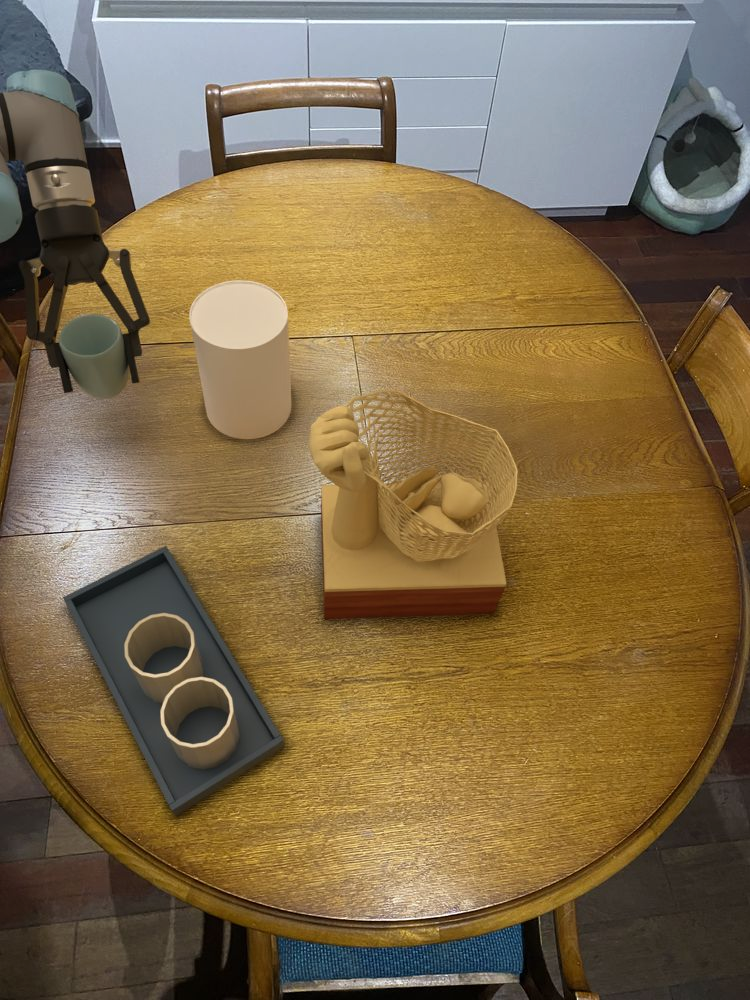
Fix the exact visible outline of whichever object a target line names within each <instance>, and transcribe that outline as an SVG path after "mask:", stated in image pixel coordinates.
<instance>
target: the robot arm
mask: <svg viewBox="0 0 750 1000" xmlns="http://www.w3.org/2000/svg"><path fill="white" fill-rule="evenodd" d="M75 101H76V100H75V97H74V93H73V90H72V86H71V84H70V82H69V80H68V79H67V78H66V77H65V76H63V75H62V74H60V73H58V72H55V71H51V70H45V69H29V70H27V71H26V70H20V71H17V72H16V71H15V72H14V73H12V74H10V75H9V76H8V77H7V78H6V91H0V244H1V243H3V242H6V241H8V240H9V239H11V238H12V237H14V236H15V234H16V233H17V232H18V230H19V228H20V227H21V224H22V221H23V210H22V206H21V201H20V195H19V189H18V186H17V184H16V182H15V181H14V180H13V177H12V175H11V172H10V169H9V167H8V163H7V162H15V161H22V163H23V166H24V171H25V175H26V181H27V186H28V190H29V194H30V200H31V204H32V207H33V208H35V209H36V210H38V211H36V213H35V214H34V218H35V222H36V227H37V232H38V236H39V241H40V247H41V249H40V253H39V256H38V257H35V258H32V259H28V260H26V259H21V260H19V262H18V268H19V270H20V272H21V275H22V277H23V280H24V281H23V282H24V299H25V300H24V302H25V321H26V322H25V323H26V325H25V326H26V336H27V338H28V339H29V340H31V341H37V342H41V344H43V345H44V347H45V352H46V356H47V361H48V365H49V366H50V368H51V369H56V368H58V371H59V376H60V381H61V384H62V390H63V393H64V394H69V393H72V392H74V389H73V384H72V379H71V374H70V371H69V369H68V367H67V365H66V362H65V359H64V357H63V354H62V352H61V349H60V346H59V341H58V342H57V335H58V332H59V326H60V321H61V317H62V313H63V308H64V303H65V298H66V295H67V292H68V287H69V286H70V287H71V286H77V285H79V284H82V283H83V284H96V286H97V287H98V289H99V290H100V291H101V293H102V294H103V296H104V297H105V298H106V300H107V301H108V303H109V305H110V306H111V307H112V310H114V312H115V314H116V315H117V316H118V318H119V319H120V321H121V322H122V324H123V325H124V326H125V328H126V329H127V333H123V339H124V344H125V349H126V354H127V359H128V364H129V369H130V380H131V383H132V384H137V383H140V378H139V372H138V367H137V363H136V358H137V357H142V356H143V355H142V354H143V349H142V343H141V338H140V330H142V329H143V328H145V327H147V326H149V325H150V324H151V318H150V315H149V313H148V311H147V308H146V305H145V302H144V299H143V297H142V295H141V292H140V288H139V286H138V284H137V281H136V279H135V276H134V273H133V270H132V254H131V253H130V251H129V250H128V249H127V248H122V249H109V248H108V247H107V245H106V243H105V242H104V239H103V234H102V233H103V232H102V229H101V225H100V219H99V215H98V210H97V209H96V208H95V207H94V206H92V205H94V204H95V202H96V199H95V194H94V188H93V183H92V178H91V173H90V170H89V166H88V161H87V155H86V150H85V144H84V139H83V134H82V129H81V123H80V114H79V112H78V110H77V109H78V108H77V105H76V102H75ZM109 259H110V260H112V261H113V263H114V266H116V267H117V268H120V271H121V275H122V277H123V278H122V279H123V280H124V283H125V285H126V288H127V291H128V293H129V296H130V299H131V301H132V304H133V306H134V310H135V312H136V314H137V317H138V318H137V319H135V320H134V319H133V318H132V316H131V314H130V313H129V311H128V310H127V309H126V307H125V305H124V304H123V303H122V301H121V300H120V298H119V297H118V295H117V293H116V292H115V291H114V289H113V288H112V286H111V285H110V283H109V282H108V280H107V278H106V277H105V276H104V274H103V271H104V269H105V267H106V265H107V263H108V261H109ZM42 267H44V268H46V269H47V271H49V272H50V273H51V274H52V275H53V276H54V281H53V284H52V293H51V296H50V302H49V306H48V311H47V316H46V320H45V324H44V329H43V331H41V317H40V296H39V295H40V292H39V280H38V277H40V275H41V274H42V273H41V269H42Z"/></svg>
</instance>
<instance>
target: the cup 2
mask: <svg viewBox="0 0 750 1000" xmlns="http://www.w3.org/2000/svg"><path fill="white" fill-rule="evenodd" d="M124 645H125V658H126V660H127V662H128V663H129V665H130V667H131V669H132V671H133V673H134V675H135V677H136V678H137V680H138V682H139V684H140V686H141V688H142V690H143V692H144V693H145V695H146V696H148V697H149V698H150V699H152V700H153V701H154V702H158V703H163V702H164V699H165V697H166V696H167V695H168V693H169V692H170V691H171V690H172V689H173V687H174V686H176V685H178V684H179V683H181V682H183V681H185V680H186V679H190V678H196V677H203V675H204V668H203V661H202V658H201V654H200V651H199V648H198V645H197V642H196V639H195V636H194V633H193V631H192V629H191V628H190V626H189V624H188V623H187V622H186V621H185V620H183V619H182V618H180V617H179V616H177V615H172V614H167V613H161V614H154V615H150V616H148V617H146V618H144V619H143V620H141V621H139V622H138V623H137V624H136V625H135V626H134V627H133V628H132V629H131V630H130V632H129V634H128V636H127V639H126V641H125V644H124ZM172 646H178V647H183V648H187V649H188V650H189V653H188V656H187V657H186V659H185V660H184V661H183V662H182V663H181V664H180V666H178V667H177V668H175V669H173V670H171V671H169V672H167V673H161V674H150V673H145V672H143V670H144V667H145V664H146V662H147V661H148V660H149V659H150V657H151V656H152V655H153V654H154V653H156V652H158V651H159V650H161V649H163V648H166V647H172Z"/></svg>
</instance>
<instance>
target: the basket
mask: <svg viewBox="0 0 750 1000" xmlns="http://www.w3.org/2000/svg"><path fill="white" fill-rule="evenodd" d="M380 394H382V395H385V396H386V397H378V396H379V395H380ZM390 398H395V399H394V400H393V399H390ZM400 398H402V399H400ZM399 399H400V400H399ZM355 401H356V402H357V401H360V402H361V401H362V402H363V403H362V404H360V405H359V406H356V407H354V405H355ZM372 401H376V402H379V403H378V404H377V405H372V404H371V405H370V403H371V402H372ZM385 403H391V404H390V405H389V406H382V405H384V404H385ZM395 404H400V406H399V408H398V407H393V406H394V405H395ZM404 405H405V406H406V407H407V408H408V409H409V410H410V411H409V412H407V411H406V410H403V407H404ZM414 408H415V409H417V410H415V409H414ZM364 409H368V410H371V411H369V412H368V413H366V414H364ZM377 410H381V411H382V410H383V412H382V413H375V412H376V411H377ZM358 411H359V418H357V419H355V415H354V413H356V412H358ZM389 411H391V412H392V411H393V412H395V413H393V414H387V413H388V412H389ZM399 413H402V414H403V415H401V416H400V415H398V414H399ZM414 415H415V416H417V417H419V418H420V419H419V418H417V417H415V416H414ZM407 416H408V417H409V418H411V419H408V418H406V417H407ZM371 418H375V419H374V420H373V421H372V422H371ZM382 418H388V419H387V420H381V419H382ZM393 419H397V420H393ZM365 420H367V426H366V427H365V426H364V421H365ZM401 421H404V422H401ZM452 421H453V422H452ZM416 422H417V423H416ZM359 423H360V424H361V428H362V431H361V432H360V427H359V425H358V424H359ZM418 423H419V424H418ZM420 424H421V425H420ZM376 425H379V426H378V427H377V428H376ZM386 425H387V426H386ZM395 425H396V426H395ZM401 426H403V427H401ZM461 427H462V428H461ZM371 428H373V433H371ZM418 428H419V429H418ZM469 428H471V429H472V430H471V429H469ZM387 430H390V431H389V432H387V433H386V434H384V433H385V432H386V431H387ZM395 430H396V432H395V433H393V432H394V431H395ZM481 430H483V431H485V432H483V431H481ZM380 431H382V432H380ZM400 432H403V433H402V434H399V433H400ZM367 433H368V435H367ZM408 433H411V434H408ZM376 435H377V436H376ZM363 436H365V439H366V442H367V444H368V445H367V444H366V443H365V442H364V440H362V438H363ZM482 436H483V437H482ZM386 437H387V438H388V439H386V440H385V441H383V440H384V439H385V438H386ZM394 437H396V439H394V441H391V440H392V439H393V438H394ZM416 437H417V438H416ZM427 437H428V438H427ZM491 437H494V438H493V439H492V438H491ZM379 438H380V439H379ZM401 438H402V439H401ZM400 439H401V440H400ZM372 440H373V441H374V442H373V441H372ZM437 441H438V442H437ZM408 442H409V443H410V445H407V443H408ZM417 442H419V443H417ZM427 442H428V443H427ZM373 443H374V444H373ZM402 443H403V444H402ZM395 444H397V445H395ZM308 445H309V452H310V458H311V459H312V461H313V462H314V464H315V466H316V468H317V469H318V470H319V472H320V474H321V475H322V476H323V477H325V478H326V479H327V480H329V481H330V482H331V483H332V484H320V485H321V490H320V493H321V497H320V531H321V564H322V565H321V566H322V594H323V595H322V596H323V619H324V620H345V619H346V620H348V619H349V620H350V619H378V618H379V619H380V618H405V617H407V618H408V617H438V616H439V617H441V616H467V615H469V616H470V615H471V616H473V615H494V613H495V611H496V609H497V606H498V604H499V602H500V600H501V597H502V596H503V593H504V591H505V589H506V586H507V579H506V573H505V568H504V562H503V561H504V560H503V557H502V550H501V543H500V539H499V533H498V528H497V527H498V526H499V525H500V524H501V522H503V520H504V519H505V518H506V516H507V515H508V512H509V511H510V509H511V507H512V505H513V502H514V499H515V495H516V492H517V487H518V473H519V472H518V467H517V465H516V462H515V460H514V457H513V454H512V453H511V451H510V448H509V447H508V444H507V443H506V442H505V440H504V438H503V437H502V436H501V434H500V433H499V431H498V430H497V429H495V428H491V427H489V426H486V425H483V424H481V423H477V422H474V421H471V420H469V419H465V418H463V417H460V416H457V415H455V414H452V413H449V412H445V411H441V410H437V409H434V408H431V407H429V406H427V405H426V404H424V403H422V402H421V401H419V400H417V399H416V398H415V397H412V396H411V395H408V394H406V393H404V392H401V391H400V390H397V389H379V390H376V391H372V392H369V393H365V394H362V395H359V396H356V397H352V398H351V399H350V400H349V402H347V404H346V405H343V404H342V405H337V406H335V407H333V408H331V409H328V410H326V411H324V412H323V413H322V414H321V415H320V416H319V417H318V418H317V419H316V420H315V421H314V422H313V423H312V424H311V426H310V432H309V444H308ZM379 445H380V446H379ZM385 445H388V446H387V447H386V448H384V449H383V448H382V447H384V446H385ZM394 445H395V446H394ZM400 445H401V446H400ZM436 445H437V446H436ZM378 446H379V447H378ZM392 446H394V447H393V448H391V447H392ZM425 446H426V447H425ZM427 446H428V447H427ZM414 447H418V448H420V449H416V448H414ZM381 448H382V449H381ZM402 449H403V450H402ZM408 449H409V450H411V451H407V450H408ZM400 450H402V452H400ZM434 450H439V451H434ZM406 451H407V452H406ZM423 451H427V452H429V453H427V454H426V453H424V452H423ZM386 452H388V453H387V454H386V455H383V454H384V453H386ZM393 452H394V453H393ZM444 452H446V453H447V454H448V455H447V454H446V455H445V454H443V453H444ZM378 453H380V454H378ZM413 453H418V454H420V455H415V454H413ZM452 453H454V454H452ZM504 453H505V454H504ZM382 455H383V456H382ZM408 455H409V456H411V458H407V457H408ZM434 455H437V457H433V456H434ZM395 456H397V458H396V459H395V460H393V458H394V457H395ZM402 456H403V457H402ZM401 457H402V459H401V460H400V458H401ZM423 457H426V458H428V459H424V458H423ZM386 458H388V460H387V461H385V462H383V461H384V460H385V459H386ZM406 458H407V459H406ZM443 458H444V459H446V460H444V459H443ZM450 458H452V459H453V460H452V459H450ZM457 458H460V459H462V460H463V461H461V460H459V459H457ZM415 459H418V460H420V461H418V462H414V461H413V460H415ZM379 460H380V461H379ZM468 460H470V461H471V462H472V463H470V462H469V461H468ZM431 461H438V462H437V463H432V462H431ZM403 462H405V463H404V465H403V466H401V464H402V463H403ZM397 463H398V464H397ZM408 463H411V464H412V465H410V466H407V464H408ZM423 463H427V464H428V465H429V466H425V467H424V466H422V465H421V464H423ZM449 463H450V464H451V465H453V466H450V465H449ZM389 464H391V465H390V467H389V468H388V469H385V468H386V467H387V465H389ZM396 464H397V467H394V466H395V465H396ZM441 464H444V465H445V466H446V467H441V466H439V465H441ZM457 464H458V465H460V466H458V465H457ZM465 465H466V466H465ZM467 465H468V466H469V467H470V468H468V467H467ZM380 466H383V467H382V468H381V469H380ZM400 466H401V467H400ZM415 466H417V467H419V469H415V468H413V467H415ZM476 468H479V470H480V471H479V470H477V469H476ZM453 469H457V470H458V471H459V472H460V473H456V472H454V471H453ZM397 470H400V471H399V473H398V474H396V472H397ZM403 470H405V471H404V472H403ZM408 470H409V471H412V472H408ZM446 470H449V471H450V472H448V473H447V472H446ZM462 470H464V471H467V472H468V473H469V474H465V473H464V472H463V471H462ZM390 471H391V472H392V474H391V475H389V476H388V474H389V473H390ZM440 471H442V472H443V474H440V473H439V472H440ZM402 472H403V474H402ZM382 473H385V475H384V476H383V477H382ZM475 473H476V475H477V476H476V475H475ZM395 474H396V475H395ZM485 474H486V475H485ZM399 477H400V478H399ZM404 477H405V478H404ZM393 478H394V480H393V481H392V479H393ZM403 478H404V479H403ZM482 478H483V480H482ZM385 479H388V481H387V482H386V483H385ZM402 479H403V480H402ZM391 481H392V482H391ZM495 498H496V499H495Z"/></svg>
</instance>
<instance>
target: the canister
mask: <svg viewBox="0 0 750 1000" xmlns="http://www.w3.org/2000/svg"><path fill="white" fill-rule="evenodd" d="M288 309H289V308H288V306H287V303H286V301H285V300H284V298H283V297H282V296H281V294H280V293H278V292H277V291H276V290H275V289H273V288H272V287H270V286H269V285H266V284H263V283H261V282H258V281H253V280H246V279H245V280H243V279H237V280H236V279H235V280H226V281H223V282H219V283H216V284H213V285H212V286H209V287H208V288H206V289H204V290H203V291H201V292H200V293H199V294H198V295H197V296H196V297H195V299H194V300H193V302H192V303H191V306H190V308H189V311H188V312H189V314H188V317H189V325H190V329H191V335H192V340H193V341H192V342H193V346H194V352H195V357H196V362H197V368H198V374H199V379H200V385H201V390H202V391H201V392H202V396H203V402H204V407H205V412H206V413H205V414H206V417H207V419H208V421H209V422H210V424H211V425H212V427H214V428H215V429H216V430H217V431H218V432H220V433H221V434H223V435H225V436H228V437H231V438H233V439H239V440H240V439H241V440H255V439H260V438H264V437H267V436H269V435H272V434H274V433H275V432H276V431H278V430H279V429H281V428H283V426H284V425H285V424H286V423H287V421H288V419H289V418H290V415H291V412H292V387H291V386H292V385H291V384H292V383H291V356H290V333H289V331H290V330H289V328H290V327H289V310H288Z"/></svg>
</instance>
